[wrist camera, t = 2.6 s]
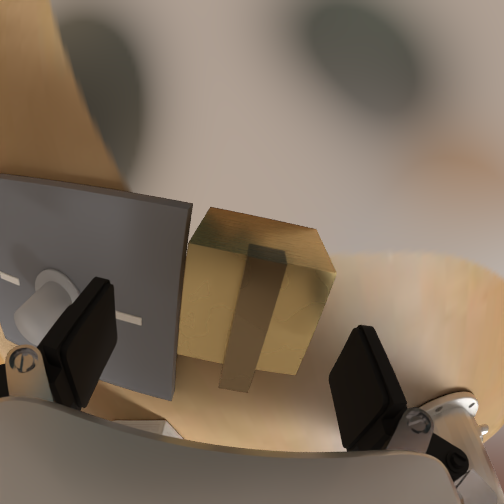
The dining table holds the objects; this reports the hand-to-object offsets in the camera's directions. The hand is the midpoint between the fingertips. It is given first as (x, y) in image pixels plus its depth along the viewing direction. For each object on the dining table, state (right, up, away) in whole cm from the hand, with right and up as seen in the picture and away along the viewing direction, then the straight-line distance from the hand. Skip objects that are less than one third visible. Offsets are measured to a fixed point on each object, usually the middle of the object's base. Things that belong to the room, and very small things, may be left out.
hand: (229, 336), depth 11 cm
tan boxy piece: (+1, +2, +7) cm, 7 cm away
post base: (-13, 0, +8) cm, 15 cm away
